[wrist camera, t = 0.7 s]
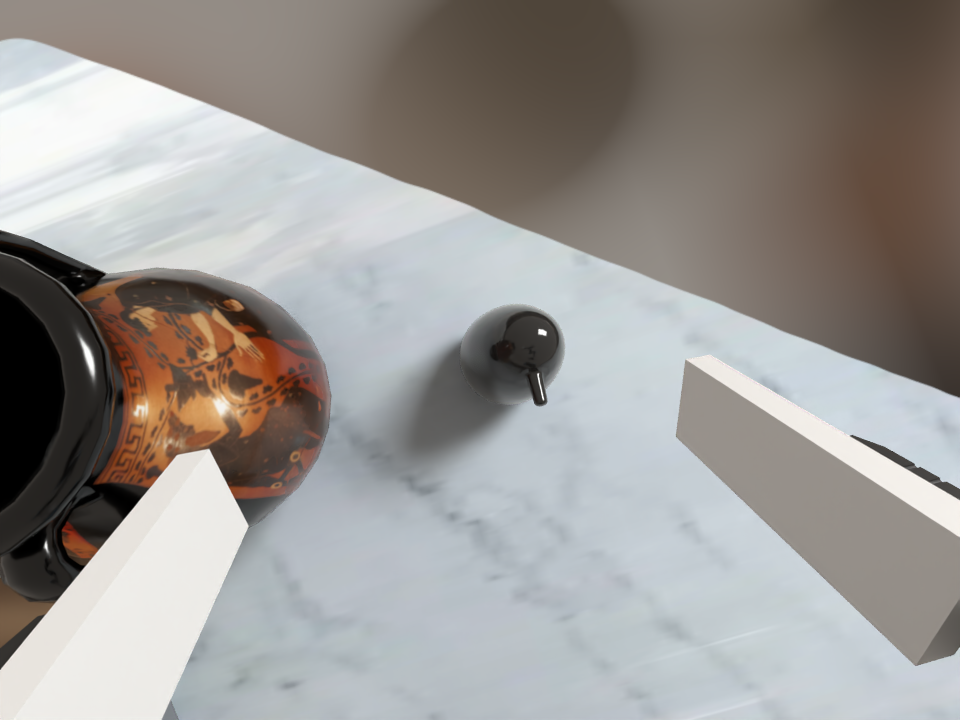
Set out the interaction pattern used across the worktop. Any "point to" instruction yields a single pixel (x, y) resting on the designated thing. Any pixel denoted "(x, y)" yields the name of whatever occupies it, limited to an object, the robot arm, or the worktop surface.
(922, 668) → the worktop surface
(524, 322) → the pump dispenser
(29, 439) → the amphora vase
